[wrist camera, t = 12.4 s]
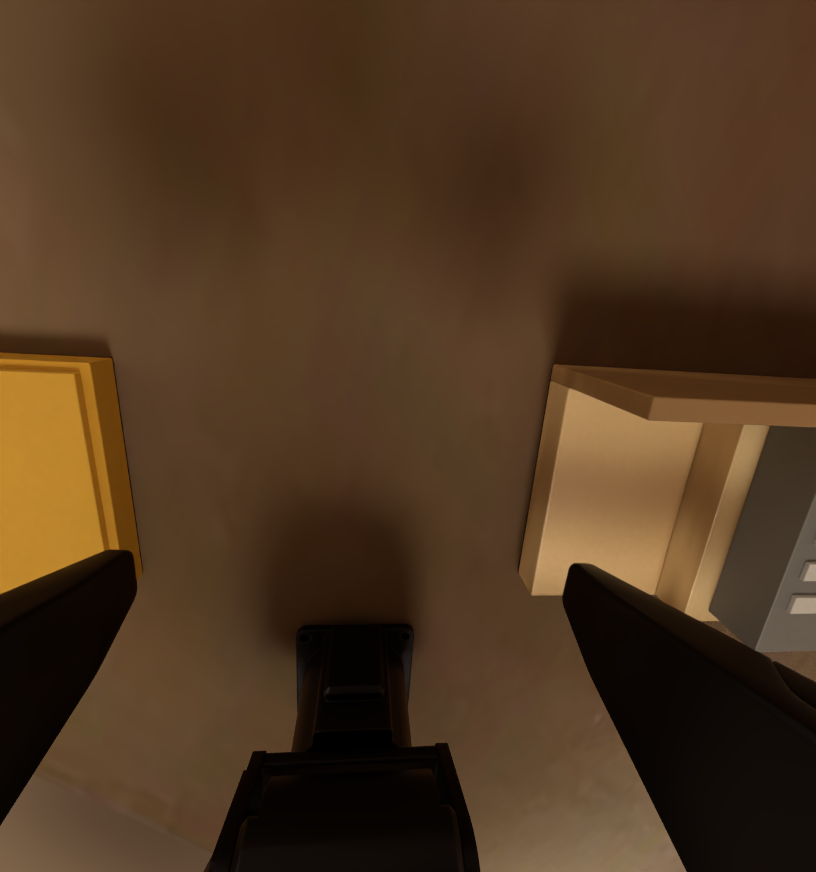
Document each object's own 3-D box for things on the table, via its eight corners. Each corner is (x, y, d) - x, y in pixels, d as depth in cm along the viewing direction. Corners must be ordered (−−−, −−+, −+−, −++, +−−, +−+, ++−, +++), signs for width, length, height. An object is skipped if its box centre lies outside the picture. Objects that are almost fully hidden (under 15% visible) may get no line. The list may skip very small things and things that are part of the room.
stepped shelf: (842, 572, 26) (1022, 673, 19) (517, 572, 24) (582, 688, 17) (924, 384, 23) (1182, 422, 15) (552, 363, 20) (654, 396, 13)
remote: (787, 610, 21) (849, 655, 18) (707, 611, 21) (759, 657, 18) (864, 419, 18) (951, 439, 15) (773, 414, 18) (846, 435, 15)
